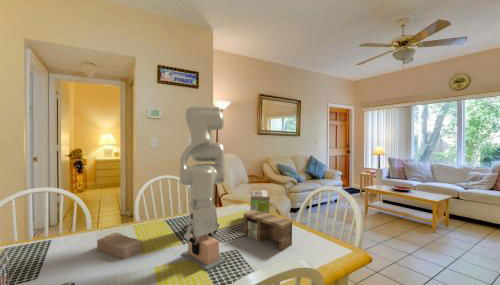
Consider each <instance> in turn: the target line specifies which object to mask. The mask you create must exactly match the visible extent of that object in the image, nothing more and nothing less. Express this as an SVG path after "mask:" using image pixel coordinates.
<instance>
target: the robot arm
mask: <svg viewBox="0 0 500 285" xmlns="http://www.w3.org/2000/svg"><path fill="white" fill-rule="evenodd" d="M185 120H186V124H187V127H188V129H189V133H190V143H189V145H188V146H187V147H186V148H185V149H184V150H183V151H182V154H181V156H180V159H179V174H178V175H179V181H180V184H182V185H184V186H189V201H190V202H189V206H190V207H189V209H190V210H189V211H190V213H189V217H188V219H187V222H188V226H187V227H186V232H185V234H184V235H183V237H184V238H183V239H186V240H187V241H188V240H189V241H190V242H191V243H192V252H193V253H194V254H195V255H199V244H198V240H199V237H201V236H204V235H208V236H210V237H212V238H214V239H215V234H216V233H217V230H218V229H219V228H220V224H219V223H218V214H217V208H216V205H215V203H214V185H217V184H222V183H224V182H225V180H226V161H225V159H226V158H225V156H226V155H225V148H224V145H223V144H222V143H221V142H212V131H222V130H223V128H224V126H225V119H224V113H223V111H222V109H221V108H220V107H219V106H203V105H202V106H200V105H197V106H196V105H194V106H189V107H187V108H186V110H185ZM189 158H191V159H192V161H193V162H197V164H193V165H187V164H188V160H189ZM208 162H209V163H208ZM198 163H199V164H198ZM200 163H201V164H200ZM191 234H192V237H190V235H191ZM194 239H195V240H194Z"/></svg>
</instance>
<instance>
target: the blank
mask: <svg viewBox="0 0 500 285" xmlns="http://www.w3.org/2000/svg"><path fill="white" fill-rule="evenodd" d="M190 237H192V234H191V235H190ZM194 240H195V239H194ZM198 244H199V255H195V254H194V253H193V252H192V243H191V242H190V241H189V240H187V245H188V248H187V251H188V254H190V255H192V256H193V257H195V258H197V259H198V260H200V261H202V262H203V263H205V264H207V265H209V264H211V263H213V262H215V261H217V260H219V257H220V240H219V239H216V238H215V237H214V238H212V237H210V236H208V234H206V235H204V236H201V237H199V240H198Z"/></svg>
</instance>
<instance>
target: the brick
mask: <svg viewBox="0 0 500 285" xmlns="http://www.w3.org/2000/svg"><path fill="white" fill-rule="evenodd" d="M96 244H97V245H96V246H97V250H98V251H99V252H101V253H102V252H103V253H105V254H107V255H111V256H114V257H117V258H121V259H124V260H125V259H128V258H130V257H132V256H134V255H136V254H138V253H140V252H142V250H143V242H142V240H141V239H138V238H134V237H129V236H127V235H124V234H122V233H120V232H113V233H110V234H109V235H105V236H103V237H101V238H99V239H97V241H96Z"/></svg>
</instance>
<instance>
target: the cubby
mask: <svg viewBox="0 0 500 285" xmlns="http://www.w3.org/2000/svg"><path fill="white" fill-rule="evenodd" d="M243 236H244V237H248V238H250V237H251V239H253V238H254V239H253V240H255V239H256V241H257V242H258V241H259V242H258V243H261V242H262V240H263V241H265V240H267V239H270V240H272V241H275V242H278V250H279V251H282V252H283V251H285V250H286V249H287V248H289V247H290V246H293V220H292V219H288V218H284V217H281V216H279V215H274V214H271V213H269V214H267V213H264V212H260V211H257V210H252V211H247V212H244V213H243ZM264 239H265V240H264ZM260 241H261V242H260Z"/></svg>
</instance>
